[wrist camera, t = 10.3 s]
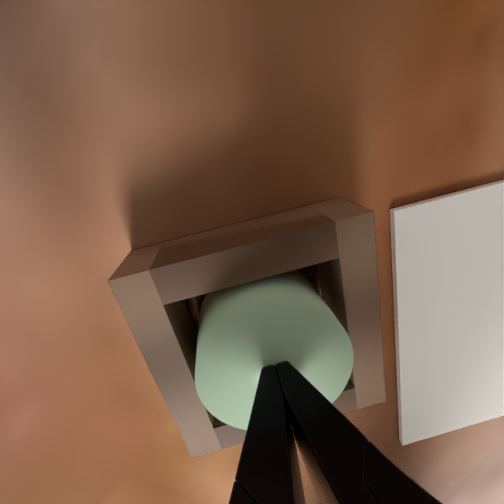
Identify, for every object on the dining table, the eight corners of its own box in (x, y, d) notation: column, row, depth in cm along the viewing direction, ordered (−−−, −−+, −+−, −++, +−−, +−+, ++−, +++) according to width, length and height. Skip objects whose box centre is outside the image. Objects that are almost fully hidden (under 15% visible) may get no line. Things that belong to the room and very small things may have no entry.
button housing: (356, 357, 14) (385, 401, 11) (195, 403, 13) (192, 458, 11) (338, 197, 11) (373, 211, 8) (130, 250, 10) (107, 281, 8)
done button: (326, 349, 13) (359, 407, 10) (218, 380, 12) (219, 448, 10) (310, 247, 11) (345, 283, 8) (182, 281, 10) (171, 330, 8)
